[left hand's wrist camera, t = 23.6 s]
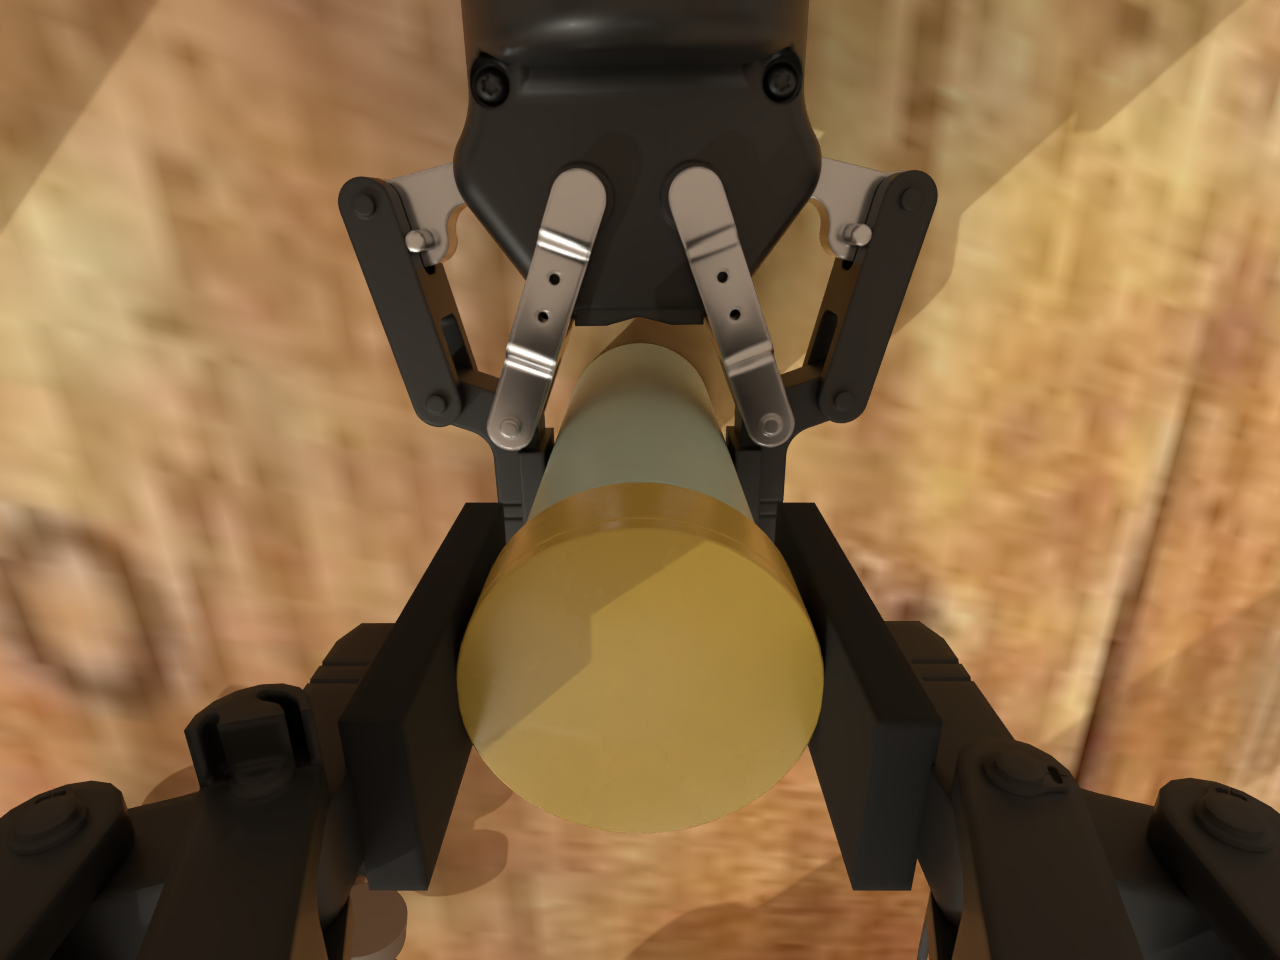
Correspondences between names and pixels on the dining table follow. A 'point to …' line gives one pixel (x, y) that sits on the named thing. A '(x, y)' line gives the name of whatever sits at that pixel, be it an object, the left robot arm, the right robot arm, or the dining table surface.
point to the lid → (640, 661)
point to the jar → (640, 430)
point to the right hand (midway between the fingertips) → (642, 557)
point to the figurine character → (377, 922)
